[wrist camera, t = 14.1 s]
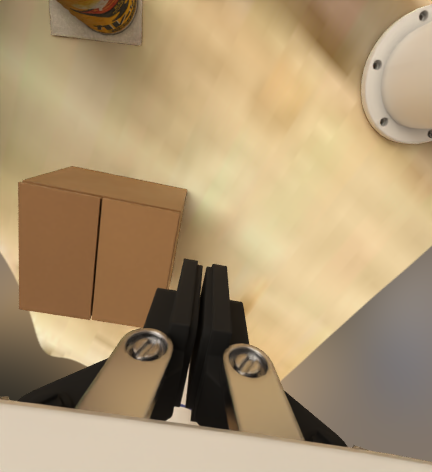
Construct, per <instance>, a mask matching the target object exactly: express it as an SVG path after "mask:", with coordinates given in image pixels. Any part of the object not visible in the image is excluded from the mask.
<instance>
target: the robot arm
mask: <svg viewBox="0 0 432 472" xmlns="http://www.w3.org/2000/svg"><path fill="white" fill-rule="evenodd" d="M373 64H374V65H375V68H373ZM361 98H362V105H363V109H364V111H365V114H366V117H367V119H368V120H369V122H370V124H371V125H372V127H373V128H374V129H375V130H376V131H377V132H378V133H379V134H381V135H382V136H384V137H385V138H387V139H389V140H392V141H394V142H397V143H405V144H420V143H426V142H430V141H432V4H430V5H427V6H424V7H420V8H418V9H416V10H414V11H412V12H410V13H408V14H406V15H405V16H403V17H402V18H400V19H399V20H397V21H396V22H395V23H394V24H392V25H391V26H390V27H389V28H388V29H387V30H386V31H385V32H384V33H383V35H382V36H381V37H380V38H379V40H378V41H377V42H376V44H375V46H374V47H373V49H372V51H371V53H370V54H369V57H368V59H367V62H366V65H365V67H364V72H363V76H362V81H361ZM380 121H381V124H380ZM197 264H198V261H195V260H189V259H184V262H183V266H182V270H181V275H180V279H179V284H178V288H177V291H175V290H169V289H163V288H157V290H156V292H155V295H154V298H153V301H152V304H151V307H150V310H149V312H148V315H147V318H146V321H145V324H144V327H143V328H140V329H136V330H133V331H131V332H129V333H127V334H126V335H125V336H124V337H123V338H122V339H121V340H120V342H119V343H118V345H117V346H116V348H115V349H114V351H113V352H112V354H111V355H110V357H109V358H107V359H105V360H103V361H100V362H98V363H96V364H94V365H91V366H89V367H87V368H85V369H82V370H80V371H77V372H75V373H73V374H71V375H68V376H66V377H64V378H61V379H59V380H57V381H55V382H52V383H50V384H47V385H45V386H43V387H41V388H39V389H36V390H34V391H32V392H30V393H28V394H26V395H24V396H23V397H21V398H20V399H19V400H18V401H10V400H9V397H0V472H432V462H429V461H424V460H419V459H414V458H409V457H403V456H398V455H392V454H387V453H381V452H374V451H369V450H366V449H363V448H360V447H358V446H355V445H354V446H353V447H352V448H349V447H347V445H346V444H345V442H344V441H343V440H342V439H341V438H340V437H339V436H338V435H337V434H336V433H334V432H333V431H332V430H331V429H330V428H328V427H327V426H326V425H325V424H323V423H322V422H321V421H320V420H319V419H318V418H316V417H315V416H314V415H313V414H312V413H310V412H309V411H308V410H307V409H306V408H304V407H303V406H302V405H301V404H300V403H298V402H297V401H296V400H295V399H293V398H292V397H291V396H290V395H289V394H287V393H286V392H285V391H284V390H283V387H282V385H281V382H280V380H279V377H278V375H277V373H276V370H275V368H274V366H273V363H272V361H271V360H270V358H269V357H268V356H267V355H266V354H265V353H264V352H263V351H262V350H260V349H259V348H257V347H254V346H252V345H249V340H248V333H247V327H246V320H245V314H244V308H243V303H242V302H238V301H232V300H230V299H229V287H228V275H227V266H222V265H216V264H213V265H212V267H207V268H206V272H205V277H204V281H203V286H202V291H201V280H202V268H203V266H201V265H197ZM200 291H201V295H200ZM189 364H190V366H189ZM188 369H189V375H188V385H187V395H186V404H185V408H187V409H191V420H190V421H192V422H197V423H198V424H199V426H197V425H190V424H183V423H176V422H168V421H166V420H168V419H169V418H171V417H172V415H173V411H174V407H180V405H181V400H182V396H183V391H184V387H185V382H186V378H187V373H188Z"/></svg>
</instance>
